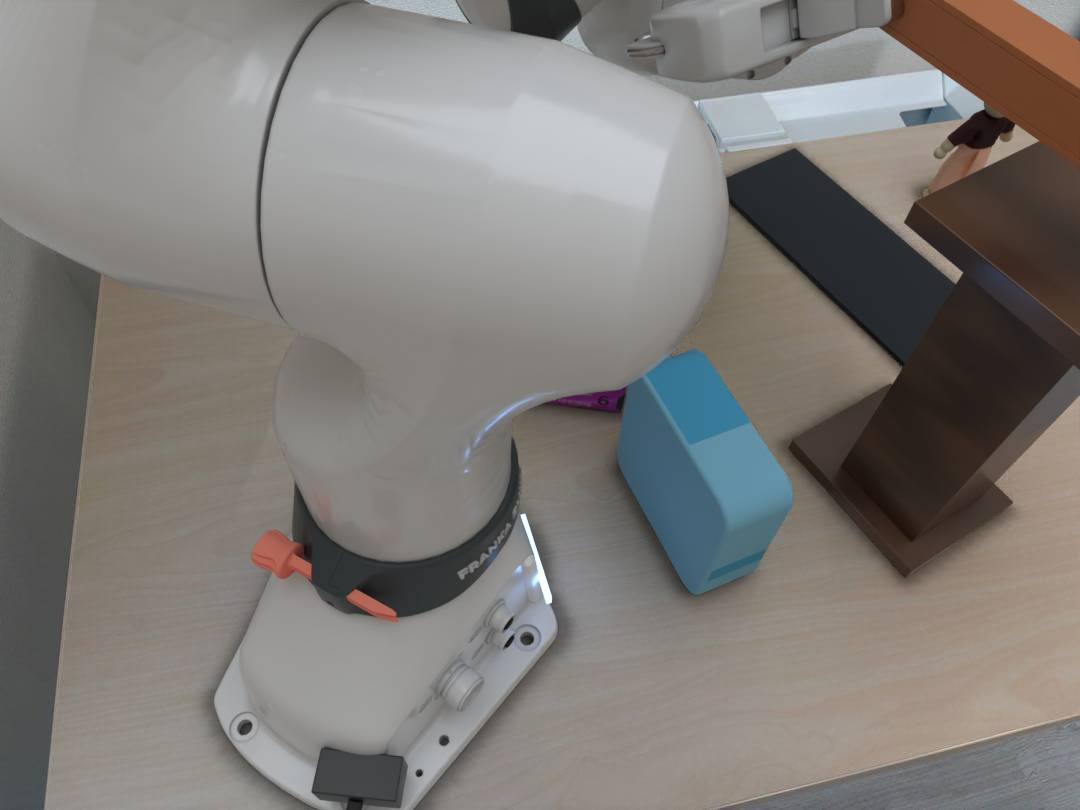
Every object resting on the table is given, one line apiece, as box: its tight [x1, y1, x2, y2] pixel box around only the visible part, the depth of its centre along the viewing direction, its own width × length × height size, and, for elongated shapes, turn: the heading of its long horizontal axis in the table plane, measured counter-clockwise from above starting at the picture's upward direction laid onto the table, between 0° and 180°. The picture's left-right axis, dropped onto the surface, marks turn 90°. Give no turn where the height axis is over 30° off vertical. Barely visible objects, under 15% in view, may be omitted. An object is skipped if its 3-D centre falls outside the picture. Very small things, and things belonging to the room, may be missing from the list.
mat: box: [726, 147, 956, 368], centre depth 73 cm, size 26×10×1 cm, turn 32°
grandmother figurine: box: [921, 101, 1016, 198], centre depth 73 cm, size 8×4×13 cm, turn 121°
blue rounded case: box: [616, 349, 794, 596], centre depth 54 cm, size 12×4×12 cm, turn 23°
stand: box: [787, 140, 1080, 578], centre depth 51 cm, size 12×10×24 cm
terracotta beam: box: [878, 0, 1080, 169], centre depth 40 cm, size 20×3×3 cm, turn 32°
